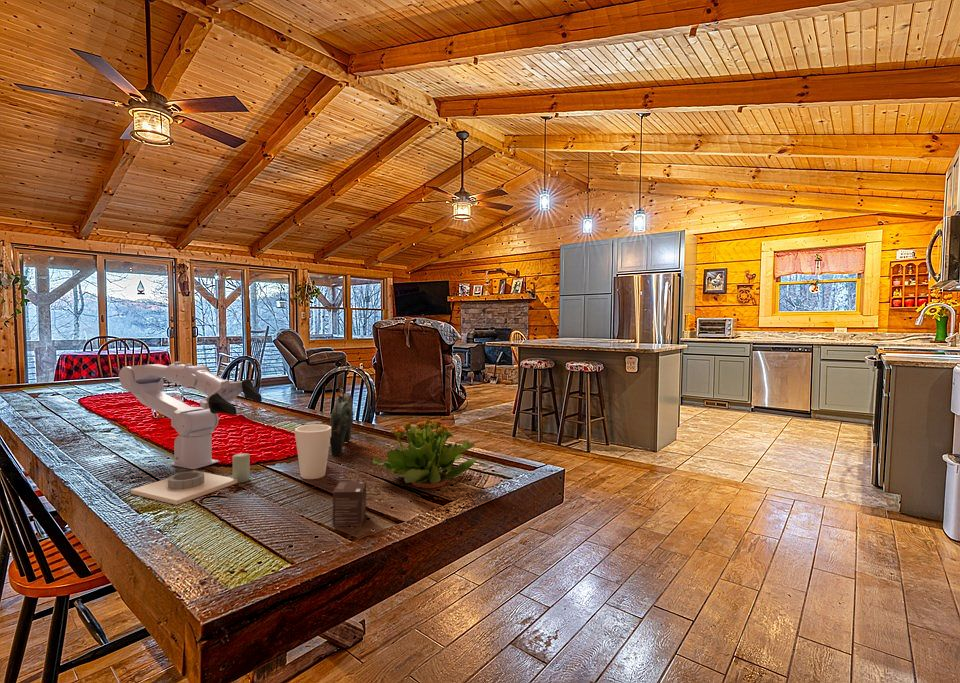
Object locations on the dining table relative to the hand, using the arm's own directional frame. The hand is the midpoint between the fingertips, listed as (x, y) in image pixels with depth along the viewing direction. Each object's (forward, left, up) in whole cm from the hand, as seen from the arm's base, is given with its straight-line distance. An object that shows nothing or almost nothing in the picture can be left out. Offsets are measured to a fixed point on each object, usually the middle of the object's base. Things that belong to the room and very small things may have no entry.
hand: (248, 404), depth 125 cm
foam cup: (+15, +8, -19) cm, 26 cm away
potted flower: (+47, +17, -19) cm, 54 cm away
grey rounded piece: (+1, -3, -19) cm, 20 cm away
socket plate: (-6, -13, -19) cm, 24 cm away
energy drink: (+7, +17, -19) cm, 27 cm away
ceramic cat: (+4, +34, -20) cm, 39 cm away
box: (+42, -11, -20) cm, 48 cm away
